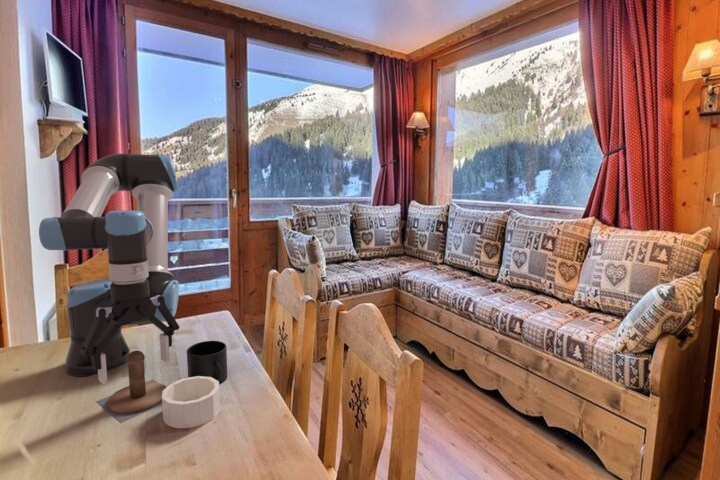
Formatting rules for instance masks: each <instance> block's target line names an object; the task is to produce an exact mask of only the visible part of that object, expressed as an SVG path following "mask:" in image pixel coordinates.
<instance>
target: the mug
mask: <svg viewBox="0 0 720 480" xmlns="http://www.w3.org/2000/svg"><path fill="white" fill-rule="evenodd" d="M186 363H187V378H189V377H196V376H204V377H212V378H214V379H215V380H217V381H219V386H220V385H221V384H224V382H225V381H227V379H228V353H227V345H226V343H225V342H222V341H220V340H205V341H201V342H197V343H194V344H192V345H190V346H189V347H188V348H187V349H186Z"/></svg>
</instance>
